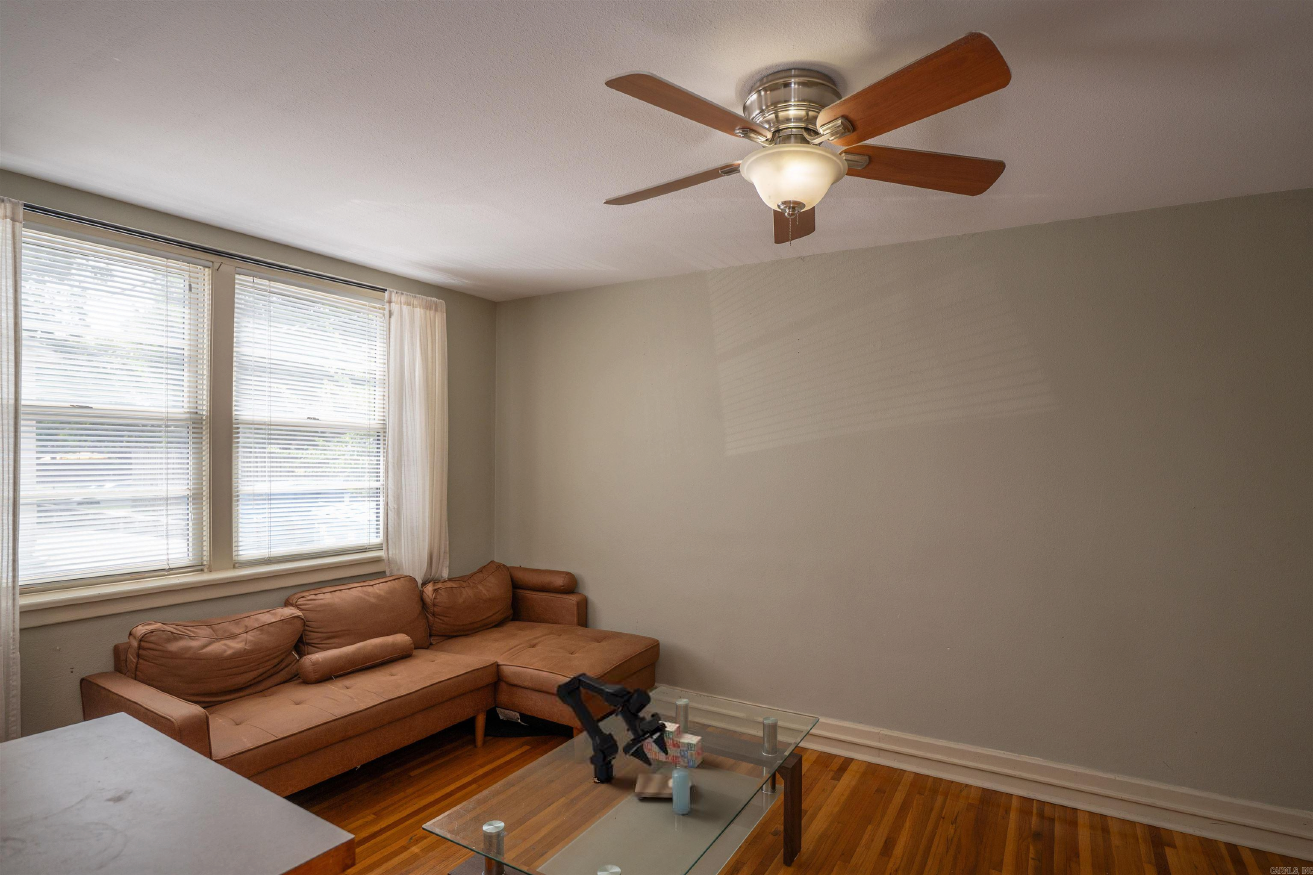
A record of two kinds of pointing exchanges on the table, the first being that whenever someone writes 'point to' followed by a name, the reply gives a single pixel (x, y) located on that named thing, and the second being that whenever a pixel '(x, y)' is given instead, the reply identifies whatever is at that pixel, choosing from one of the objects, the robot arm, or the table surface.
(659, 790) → the plate
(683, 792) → the light blue rounded piece
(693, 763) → the stack of blocks
